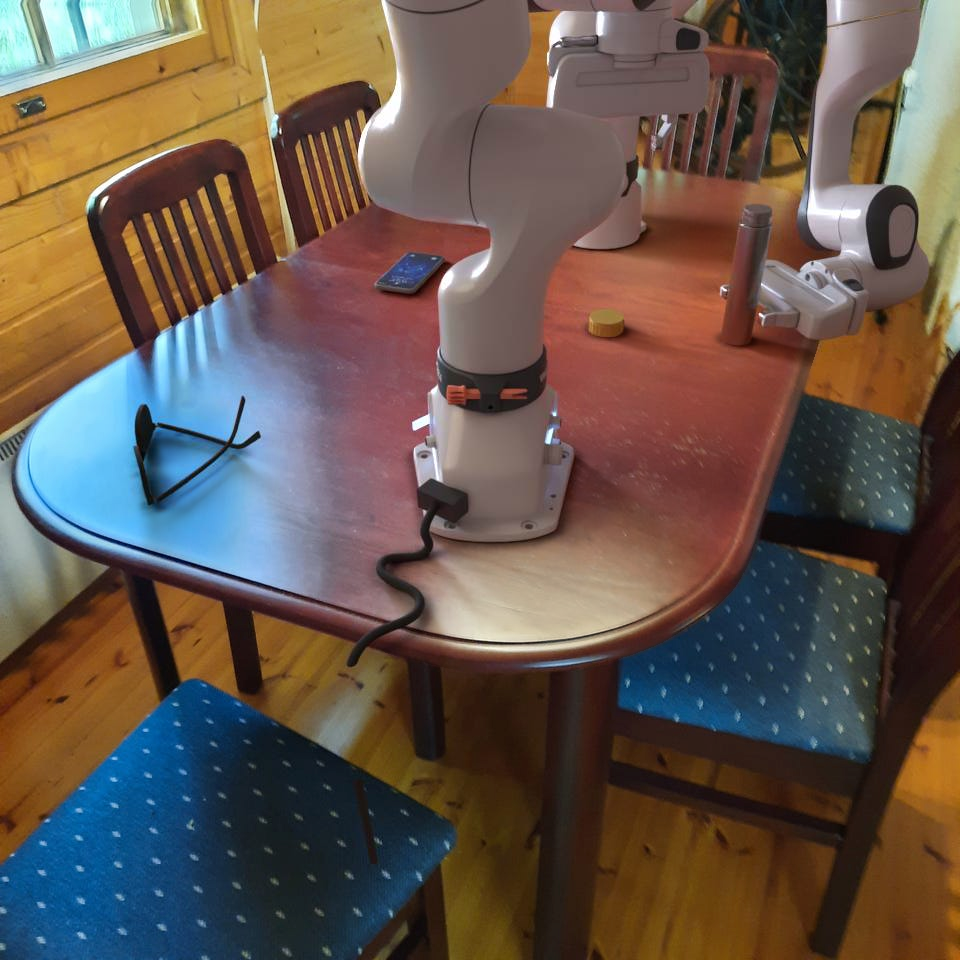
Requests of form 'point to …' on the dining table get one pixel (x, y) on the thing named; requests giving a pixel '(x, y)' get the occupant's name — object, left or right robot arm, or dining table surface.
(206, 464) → the sunglasses
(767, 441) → the dining table surface
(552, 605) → the dining table surface
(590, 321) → the lid
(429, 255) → the smartphone
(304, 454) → the dining table surface
